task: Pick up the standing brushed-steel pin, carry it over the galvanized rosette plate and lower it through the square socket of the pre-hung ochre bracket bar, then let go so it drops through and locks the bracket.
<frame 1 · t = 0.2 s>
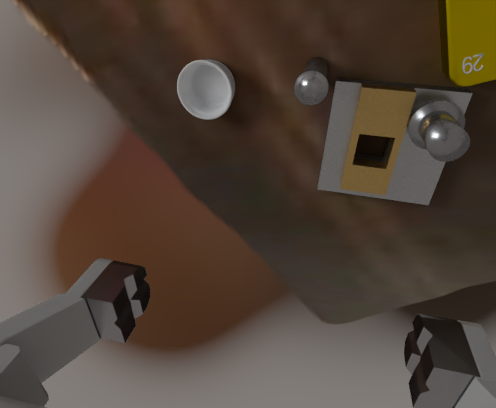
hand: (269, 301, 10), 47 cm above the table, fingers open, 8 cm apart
steel pin: (316, 68, 50), on the table
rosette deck: (383, 141, 54), on the table
ramekin: (213, 84, 55), on the table
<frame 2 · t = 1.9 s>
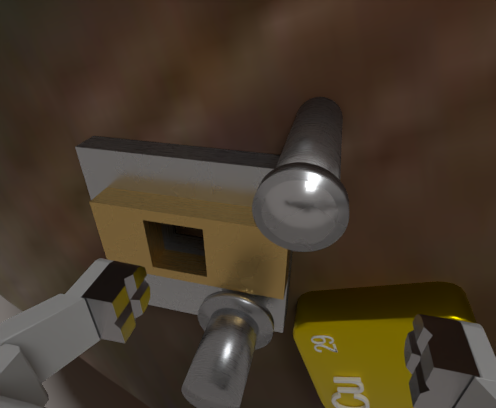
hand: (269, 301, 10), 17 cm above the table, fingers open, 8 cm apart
element tile: (383, 335, 35), on the table
steel pin: (319, 119, 24), on the table
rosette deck: (199, 233, 32), on the table
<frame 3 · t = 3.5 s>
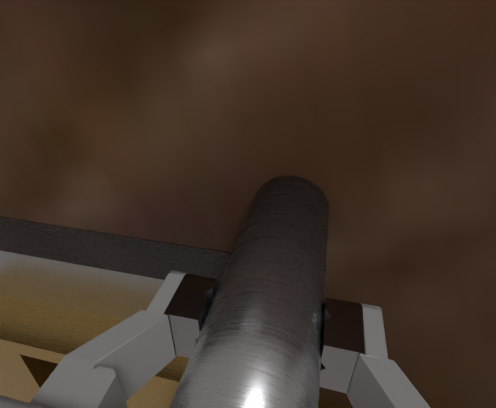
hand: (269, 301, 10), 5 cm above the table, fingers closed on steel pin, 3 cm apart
steel pin: (290, 209, 14), on the table, touching gripper
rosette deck: (130, 338, 23), on the table
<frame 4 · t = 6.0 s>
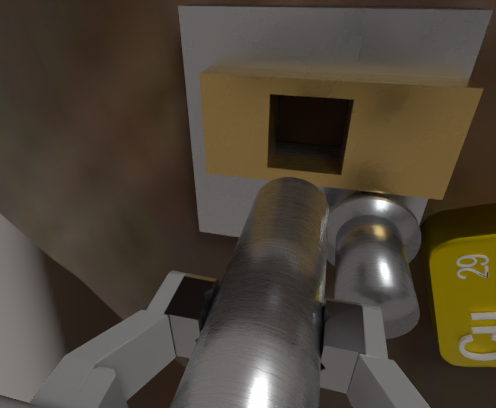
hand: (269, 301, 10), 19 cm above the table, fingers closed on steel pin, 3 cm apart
steel pin: (290, 210, 14), point 13 cm above the table, touching gripper
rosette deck: (309, 138, 27), on the table
when the fingers open (8 cm above the table, at t = 8.7 s): steel pin drops 2 cm, resting in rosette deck.
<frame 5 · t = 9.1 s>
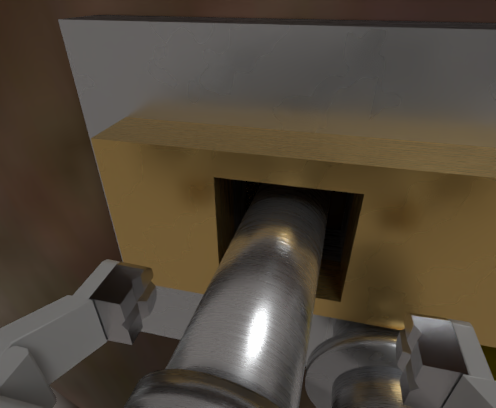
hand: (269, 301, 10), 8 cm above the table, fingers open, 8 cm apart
steel pin: (298, 182, 16), resting in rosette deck
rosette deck: (292, 216, 18), on the table
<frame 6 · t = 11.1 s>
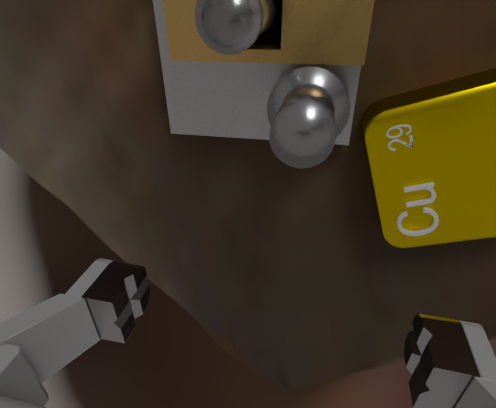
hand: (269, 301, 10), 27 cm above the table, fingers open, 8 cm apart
element tile: (449, 155, 33), on the table
steel pin: (262, 10, 30), resting in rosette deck
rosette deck: (260, 36, 31), on the table
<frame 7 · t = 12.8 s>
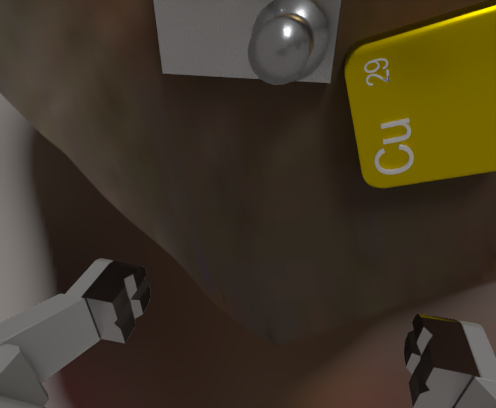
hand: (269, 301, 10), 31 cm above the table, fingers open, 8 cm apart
element tile: (427, 97, 35), on the table
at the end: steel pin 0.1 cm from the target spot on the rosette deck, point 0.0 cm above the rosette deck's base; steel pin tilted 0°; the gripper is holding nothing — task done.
